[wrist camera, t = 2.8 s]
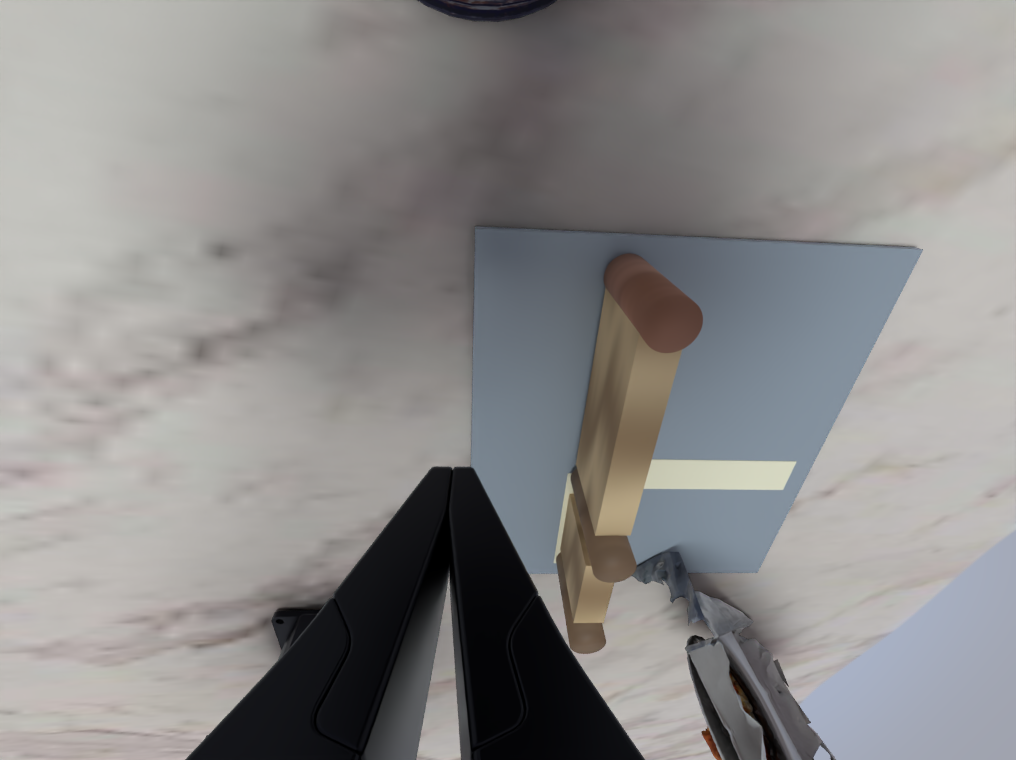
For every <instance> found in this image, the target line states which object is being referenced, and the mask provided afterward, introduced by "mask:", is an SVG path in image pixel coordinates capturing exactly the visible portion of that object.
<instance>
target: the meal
mask: <svg viewBox="0 0 1016 760" xmlns="http://www.w3.org/2000/svg"><path fill="white" fill-rule="evenodd" d="M631 576H633V577H635V578H636V579H637V580H638V581H640V582H641V581H642V582H643V583H644V584H647V583H649V582H651V581H655V582H658V583H661V584H663V582H662V580H663V581H665V582H666V583H667V585H668V586H669V589H670V592H671V599H670V601H671V602H672V603H673V601H674V600H675V599H676V598H679V597H684V598H686V599H687V600H688V601H689V606H688V609H687V611H688V615H689V618H688V626H689V623H690V621H692V622H693V623H695V622H696V621H699V620H704V622H705V623H706V625H707V626H708V627H709V629H710V631H711V632H712V633H713V635H714V637H713V638H710V639H706V640H705V639H704V638H702V637H699V636H697V635H694V636H691V637H690V638H689V639H688V641H687V646H686V647H685V649H686V651H687V659H688V665H689V670H690V675H691V678H692V681H693V683H694V688H695V692H696V696H697V698H698V701H699V704H700V708H701V710H702V713H703V716H704V718H705V721H706V724H707V726H708V727H707V729H708V730H707V729H706V731H702V735H703V737H704V739H705V740H706V742H707V744H708V746H709V747H710V749H711V752H712V754H713V756H714V757H715V758H716V759H717V760H814V759H813V757H814V755H815V753H816V751H817V750H818V747H819V746H820V745H821V746H822V747H823V748H824V749H825V750H826V751H827V752H828V753H829V754H830V756H831V760H836V759H835V757H834V756H833V755H832V754H831V752H830V751H829V750H828V748H827V747H826V746H825V744H824V743H823V741H822V740H821V739H820V737H819V736H818V734H817V733H816V732H815V731H814V730H813V729H812V728H810V727H809V726H808V725H807V724H809V723H811V722H810V721H809V719H808V718H807V717H806V715H805V714H804V712H803V711H802V709H801V708H800V706H799V705H798V703H797V702H796V701H795V699H794V698H793V696H792V695H791V693H790V692H789V690H788V688H787V687H786V685H785V683H786V684H787V681H786V679H785V676H784V674H783V671H782V669H781V667H780V664H779V662H778V659H777V660H775V661H773V655H772V653H771V652H769V651H768V650H767V649H765V648H764V647H763V646H762V645H761V644H760V643H759V642H758V641H757V640H756V639H755V638H753V639H747V638H745V637H742V636H740V635H739V634H740V633H741V631H742V630H743V628H745V627H748V626H750V625H751V624H752V623H753V621H752V620H751V619H750V618H748V617H747V616H746V615H745V614H744V613H743V612H741V611H739V610H737V609H736V608H734V607H732V606H730V605H729V604H727V603H725V602H723V601H721V600H719V599H717V598H712V597H709V596H707V595H705V594H703V593H701V592H700V591H694V589H693V586H692V583H691V581H690V578H689V575H688V573H687V570H686V568H685V565H684V562H683V559H682V557H681V555H680V553H679V552H666V553H663V554H660V555H657V556H655V557H653V558H651V559H650V560H648V561H647V562H645V563H643V564H642V565H640V566H638V567H637V568H636V570H635V572H634V573H633V574H632V575H631ZM663 585H664V584H663ZM697 641H698V642H697ZM783 681H784V682H785V683H784V682H783ZM787 686H788V684H787ZM788 687H789V686H788Z"/></svg>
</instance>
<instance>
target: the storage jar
mask: <svg viewBox="0 0 1016 760" xmlns="http://www.w3.org/2000/svg"><path fill="white" fill-rule="evenodd" d="M418 1H420V2H421V3H423V4H424V5H426V6H428V7H430V8H433V9H435V10H437V11H440V12H442V13H444V14H447V15H449V16H453V17H457V18H462V19H466V20H471V21H491V22H499V21H504V20H510V19H515V18H521V17H524V16H526V15H529V14H531V13H534V12H537V11H539V10H542V9H544V8H546V7H548V6H549V5H551V4H552V3H554V2H556V1H557V0H418Z"/></svg>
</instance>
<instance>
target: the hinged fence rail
mask: <svg viewBox="0 0 1016 760" xmlns="http://www.w3.org/2000/svg"><path fill="white" fill-rule="evenodd" d="M604 285H605V287H606V288H605V294H604V300H603V306H602V312H601V318H600V324H599V330H598V336H597V342H596V348H595V354H594V359H593V365H592V371H591V377H590V383H589V389H588V395H587V401H586V407H585V413H584V419H583V424H582V430H581V436H580V442H579V448H578V454H577V460H576V466H577V468H576V469H575V470H574V471H573V473H572V475H571V484H572V488H573V492H574V496H575V500H576V505H577V509H578V513H579V517H580V521H581V525H582V530H583V534H584V538H585V542H586V546H587V550H588V554H589V559H590V563H591V567H592V571H593V574H594V576H595V577H596V578H597V579H598V580H600V581H603V582H607V583H614V582H620V581H623V580H625V579H627V578H629V577H630V576H631V575H632V574H633V573H634V572H635V570H636V567H637V564H636V561H635V558H634V555H633V552H632V549H631V546H630V543H629V540H628V537H627V536H631V533H632V529H633V525H634V522H635V518H636V515H637V511H638V507H639V504H640V500H641V497H642V493H643V489H644V486H645V482H646V479H647V475H648V471H649V468H650V464H651V461H652V457H653V453H654V450H655V446H656V443H657V439H658V435H659V432H660V428H661V424H662V421H663V417H664V414H665V410H666V406H667V403H668V399H669V396H670V392H671V388H672V385H673V381H674V378H675V374H676V370H677V367H678V363H679V360H680V356H681V352H682V349H684V348H686V347H687V346H689V345H690V344H691V343H692V342H693V341H694V340H695V339H696V338H697V336H698V335H699V333H700V331H701V328H702V325H703V315H702V311H701V309H700V307H699V306H698V305H697V304H696V303H695V302H694V301H693V300H692V299H690V298H689V297H688V296H687V295H686V294H684V293H683V292H682V291H681V290H680V289H679V288H677V287H676V286H675V285H674V284H673V283H671V282H670V281H669V280H668V279H667V278H666V277H664V276H663V275H662V274H661V273H660V272H658V271H657V270H656V269H655V268H654V267H653V266H651V265H650V264H649V263H648V262H647V261H645V260H644V259H643V258H642V257H640V256H639V255H636V254H631V253H628V254H623V255H620V256H618V257H616V258H615V259H613V260H612V261H611V262H610V263H609V265H608V266H607V268H606V270H605V273H604Z"/></svg>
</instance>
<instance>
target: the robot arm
mask: <svg viewBox="0 0 1016 760" xmlns="http://www.w3.org/2000/svg"><path fill="white" fill-rule="evenodd" d="M449 574H450V597H451V613H452V628H453V643H454V658H455V674H456V689H457V704H458V719H459V735H460V750H461V760H645V759H644V757H643V756H642V755H641V753H640V752H639V750H638V749H637V748H636V746H635V745H634V743H633V742H632V740H631V739H630V738H629V736H628V735H627V733H626V732H625V730H624V729H623V727H622V726H621V724H620V723H619V721H618V720H617V719H616V717H615V716H614V714H613V713H612V711H611V710H610V708H609V707H608V705H607V704H606V702H605V701H604V700H603V698H602V697H601V695H600V694H599V692H598V691H597V689H596V688H595V686H594V685H593V683H592V682H591V680H590V679H589V678H588V676H587V675H586V673H585V672H584V670H583V669H582V667H581V666H580V664H579V662H578V661H577V659H576V658H575V656H574V655H573V653H572V652H571V650H570V648H569V647H568V645H567V644H566V642H565V641H564V639H563V637H562V635H561V633H560V632H559V630H558V628H557V626H556V625H555V623H554V621H553V619H552V617H551V616H550V614H549V612H548V610H547V608H546V606H545V604H544V602H543V600H542V598H541V597H540V596H538V591H537V589H536V587H535V585H534V583H533V581H532V580H531V578H530V576H529V574H528V572H527V570H526V568H525V566H524V564H523V562H522V560H521V558H520V556H519V554H518V552H517V551H516V549H515V547H514V545H513V543H512V541H511V539H510V537H509V535H508V533H507V531H506V529H505V527H504V525H503V524H502V522H501V520H500V518H499V516H498V514H497V512H496V510H495V508H494V506H493V504H492V502H491V500H490V498H489V496H488V495H487V493H486V491H485V489H484V487H483V485H482V483H481V481H480V479H479V477H478V475H477V473H476V471H475V470H474V468H472V467H455V468H454V469H453V470H452V468H451V467H432V468H431V469H430V470H429V471H428V473H427V474H426V475H425V477H424V478H423V479H422V480H421V482H420V483H419V484H418V486H417V487H416V488H415V489H414V491H413V492H412V493H411V495H410V496H409V497H408V498H407V500H406V501H405V502H404V504H403V505H402V506H401V507H400V509H399V510H398V511H397V513H396V514H395V515H394V516H393V518H392V519H391V520H390V522H389V523H388V524H387V525H386V527H385V528H384V529H383V531H382V532H381V533H380V534H379V536H378V537H377V538H376V540H375V541H374V542H373V544H372V545H371V546H370V547H369V549H368V550H367V551H366V553H365V554H364V555H363V556H362V558H361V559H360V560H359V562H358V563H357V564H356V565H355V567H354V568H353V569H352V571H351V572H350V573H349V574H348V576H347V577H346V578H345V580H344V581H343V582H342V583H341V585H340V586H339V587H338V589H337V590H336V591H335V592H334V594H333V598H330V599H329V600H328V601H327V602H326V604H325V605H324V606H323V608H322V609H321V610H300V611H277V612H275V613H274V616H273V618H272V624H273V627H274V630H275V633H276V635H277V638H278V641H279V644H280V647H281V650H282V651H281V654H280V656H279V659H278V661H277V662H276V663H275V665H274V666H273V667H272V668H271V669H270V670H269V671H268V672H267V673H266V674H265V676H264V677H263V678H262V679H261V680H260V681H259V682H258V683H257V684H256V685H255V686H254V687H253V688H252V689H251V690H250V692H249V693H248V694H247V695H246V696H245V697H244V698H243V699H242V700H241V701H240V702H239V703H238V704H237V705H236V706H235V707H234V709H233V710H232V711H231V712H230V713H229V714H228V715H227V716H226V717H225V718H224V719H223V720H222V721H221V722H220V723H219V724H218V725H217V727H216V728H215V729H214V730H213V731H212V732H211V733H210V734H209V735H207V736H206V738H205V739H204V740H203V741H202V742H201V744H200V745H199V746H198V747H197V748H196V749H195V750H194V751H193V752H192V753H191V754H190V755H189V756H188V757H187V758H186V759H185V760H416V757H417V752H418V746H419V741H420V735H421V729H422V724H423V718H424V713H425V707H426V702H427V696H428V691H429V685H430V680H431V674H432V669H433V663H434V658H435V652H436V646H437V641H438V635H439V630H440V624H441V619H442V613H443V608H444V602H445V597H446V591H447V585H448V578H449Z"/></svg>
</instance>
